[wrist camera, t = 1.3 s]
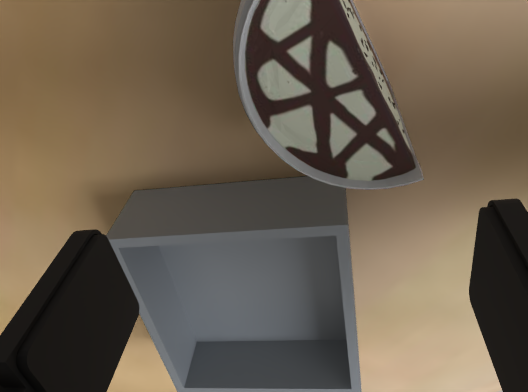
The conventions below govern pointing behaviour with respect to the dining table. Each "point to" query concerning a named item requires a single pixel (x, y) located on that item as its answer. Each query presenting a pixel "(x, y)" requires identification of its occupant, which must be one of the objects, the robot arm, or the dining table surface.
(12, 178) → the dining table surface
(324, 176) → the food container
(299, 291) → the crate
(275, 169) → the dining table surface
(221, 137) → the dining table surface
